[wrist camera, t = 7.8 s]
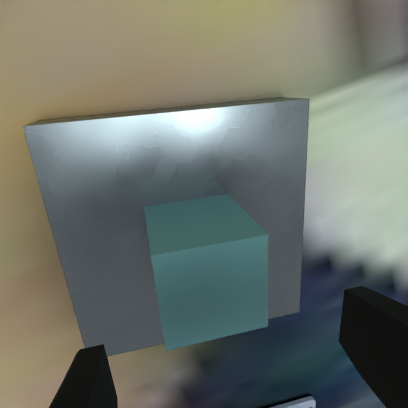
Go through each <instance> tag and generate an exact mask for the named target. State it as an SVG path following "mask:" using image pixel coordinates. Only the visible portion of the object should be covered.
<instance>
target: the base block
mask: <svg viewBox="0 0 408 408" xmlns="http://www.w3.org/2000/svg"><path fill="white" fill-rule="evenodd" d="M308 119H309V99H303V98H287V97H282V98H271V99H261V100H250V101H239V102H228V103H218V104H207V105H196V106H186V107H175V108H164V109H153V110H143V111H132V112H121V113H111V114H100V115H89V116H78V117H68V118H57V119H46V120H39V121H36V122H33V123H30V124H28V125H25V126H23V129H24V133H25V137H26V140H27V144H28V147H29V151H30V154H31V158H32V161H33V165H34V169H35V172H36V176H37V179H38V183H39V186H40V190H41V193H42V197H43V201H44V204H45V208H46V211H47V215H48V218H49V222H50V225H51V229H52V233H53V236H54V240H55V243H56V247H57V250H58V254H59V258H60V261H61V265H62V268H63V272H64V275H65V279H66V282H67V286H68V290H69V293H70V297H71V300H72V304H73V307H74V311H75V314H76V318H77V322H78V325H79V329H80V332H81V336H82V339H83V343H84V346H85V348H88V347H93V346H97V345H102V344H104V347H105V351H106V355H107V357H108V356H112V355H116V354H121V353H125V352H129V351H133V350H138V349H142V348H146V347H151V346H155V345H159V344H164V343H165V342H164V336H163V329H162V323H161V317H160V311H159V304H158V298H157V292H156V285H155V279H154V273H153V267H152V260H151V254H150V247H149V240H148V232H147V225H146V218H145V211H144V207H145V206H152V205H158V204H165V203H171V202H178V201H185V200H191V199H198V198H204V197H211V196H217V195H224V194H230V196H231V197H232V198H233V199H234V200H235V201H236V202H237V203H238V204H239V205H240V206H241V207H242V208H243V209H244V210H245V211H246V212H247V213H248V214H249V215H250V216H251V218H252V219H253V220H254V221H255V222H256V223H257V224H258V225H259V226H260V227H261V228H262V229H263V230H264V231H265V232H266V233H267V234H268V319H271V318H275V317H280V316H284V315H288V314H292V313H297V312H299V306H300V285H301V265H302V244H303V223H304V202H305V181H306V161H307V140H308Z"/></svg>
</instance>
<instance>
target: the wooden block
mask: <svg viewBox="0 0 408 408" xmlns="http://www.w3.org/2000/svg"><path fill="white" fill-rule="evenodd" d="M144 211H145V218H146V225H147V232H148V240H149V247H150V254H151V260H152V267H153V273H154V279H155V285H156V292H157V298H158V304H159V311H160V317H161V323H162V329H163V336H164V342H165V348H166V351H167V350H171V349H175V348H180V347H184V346H188V345H192V344H196V343H201V342H205V341H209V340H213V339H217V338H221V337H226V336H230V335H234V334H238V333H242V332H246V331H251V330H255V329H259V328H263V327H267V326H268V234H267V233H266V232H265V231H264V230H263V229H262V228H261V227H260V226H259V225H258V224H257V223H256V222H255V221H254V220H253V219H252V218H251V216H250V215H249V214H248V213H247V212H246V211H245V210H244V209H243V208H242V207H241V206H240V205H239V204H238V203H237V202H236V201H235V200H234V199H233V198H232V197H231V196H230V194H224V195H217V196H211V197H204V198H198V199H191V200H185V201H178V202H171V203H165V204H158V205H152V206H145V207H144Z"/></svg>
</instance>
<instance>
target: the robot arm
mask: <svg viewBox="0 0 408 408" xmlns="http://www.w3.org/2000/svg"><path fill="white" fill-rule="evenodd" d="M339 342H340V344H341V346H342V347H343V349H344V350H345V352H346V354H347V355H348V357H349V359H350V360H351V362H352V363H353V365H354V366H355V368H356V369H357V371H358V372H359V374H360V375H361V376H362V378H363V379H364V380H365V382H366V383H367V384H368V385H369V387H370V388H371V389H372V390H373V392H374V393H375V394H376V396H377V397H378V398H379V399H380V401H381V402H382V403H383V404H384V405H385V407H386V408H408V306H406V305H403V304H401V303H399V302H397V301H395V300H393V299H391V298H388V297H386V296H384V295H382V294H380V293H377V292H375V291H373V290H370V289H368V288H366V287H363V286H360V287H355V288H351V289H346V290H344V299H343V308H342V317H341V326H340V335H339ZM315 405H316V402H315V400H314V398H313V397H311V396H308V397H305V398H301V399H298V400H294V401H291V402H287V403H284V404H280V405H277V406H274V407H270V408H315ZM49 408H118V407H117V395H116V391H115V387H114V383H113V379H112V375H111V371H110V367H109V363H108V359H107V355H106V351H105V347H104V344H102V345H97V346H93V347H88V348H84V349H80V350H79V351H78V352H77V354H76V356H75V358H74V360H73V362H72V364H71V366H70V368H69V370H68V372H67V374H66V376H65V378H64V380H63V382H62V384H61V386H60V388H59V390H58V392H57V393H56V395H55V397H54V399H53V401H52V403H51V405H50V406H49Z"/></svg>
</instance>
